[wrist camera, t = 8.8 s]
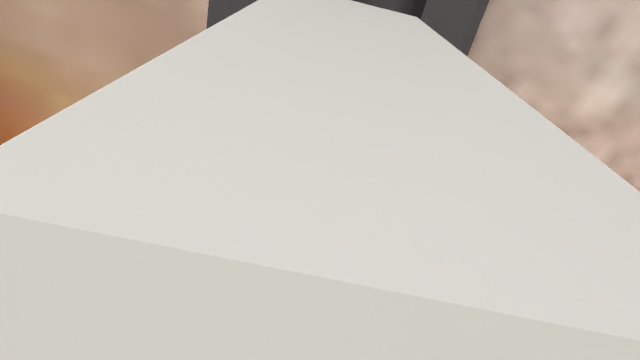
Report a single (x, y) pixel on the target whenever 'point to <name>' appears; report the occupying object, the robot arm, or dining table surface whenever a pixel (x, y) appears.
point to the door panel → (313, 208)
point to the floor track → (424, 3)
